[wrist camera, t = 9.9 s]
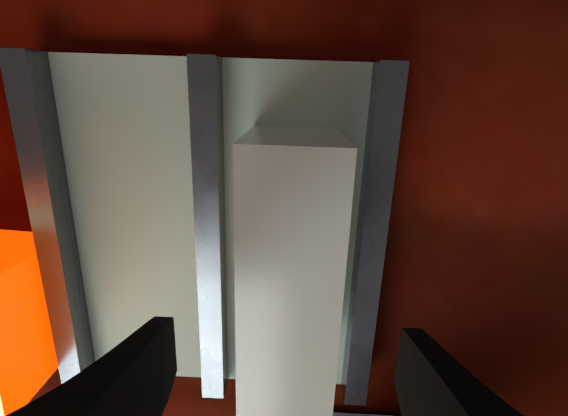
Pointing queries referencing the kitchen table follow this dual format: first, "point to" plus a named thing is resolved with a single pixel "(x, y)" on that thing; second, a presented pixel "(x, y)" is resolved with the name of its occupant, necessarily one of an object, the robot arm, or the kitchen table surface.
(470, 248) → the kitchen table surface
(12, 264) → the orange juice
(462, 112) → the kitchen table surface
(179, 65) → the rack
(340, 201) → the clay bar
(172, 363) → the robot arm
